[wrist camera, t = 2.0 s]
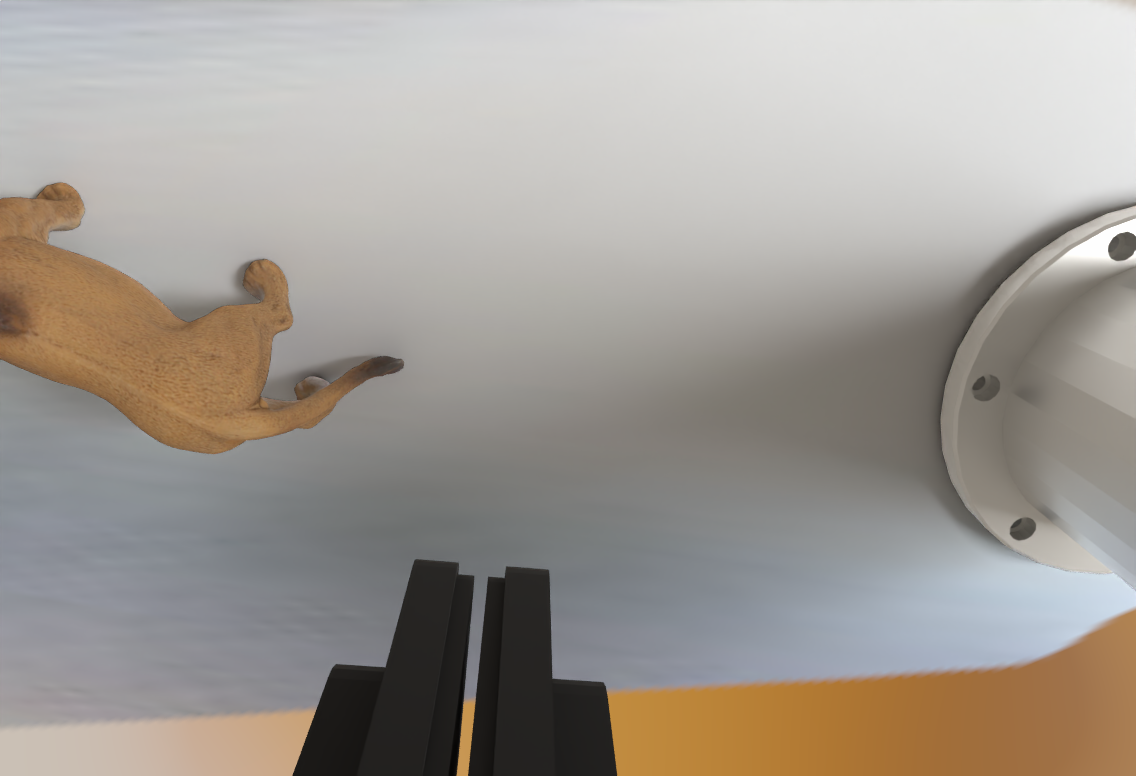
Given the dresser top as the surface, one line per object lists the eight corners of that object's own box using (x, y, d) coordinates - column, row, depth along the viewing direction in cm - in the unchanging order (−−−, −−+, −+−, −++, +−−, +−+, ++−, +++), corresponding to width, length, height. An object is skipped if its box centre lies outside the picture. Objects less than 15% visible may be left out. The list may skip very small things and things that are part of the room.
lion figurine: (-82, 310, 24) (-423, 421, 16) (-79, 135, 22) (-460, 153, 14) (390, 428, 26) (315, 586, 17) (426, 274, 24) (362, 366, 16)
